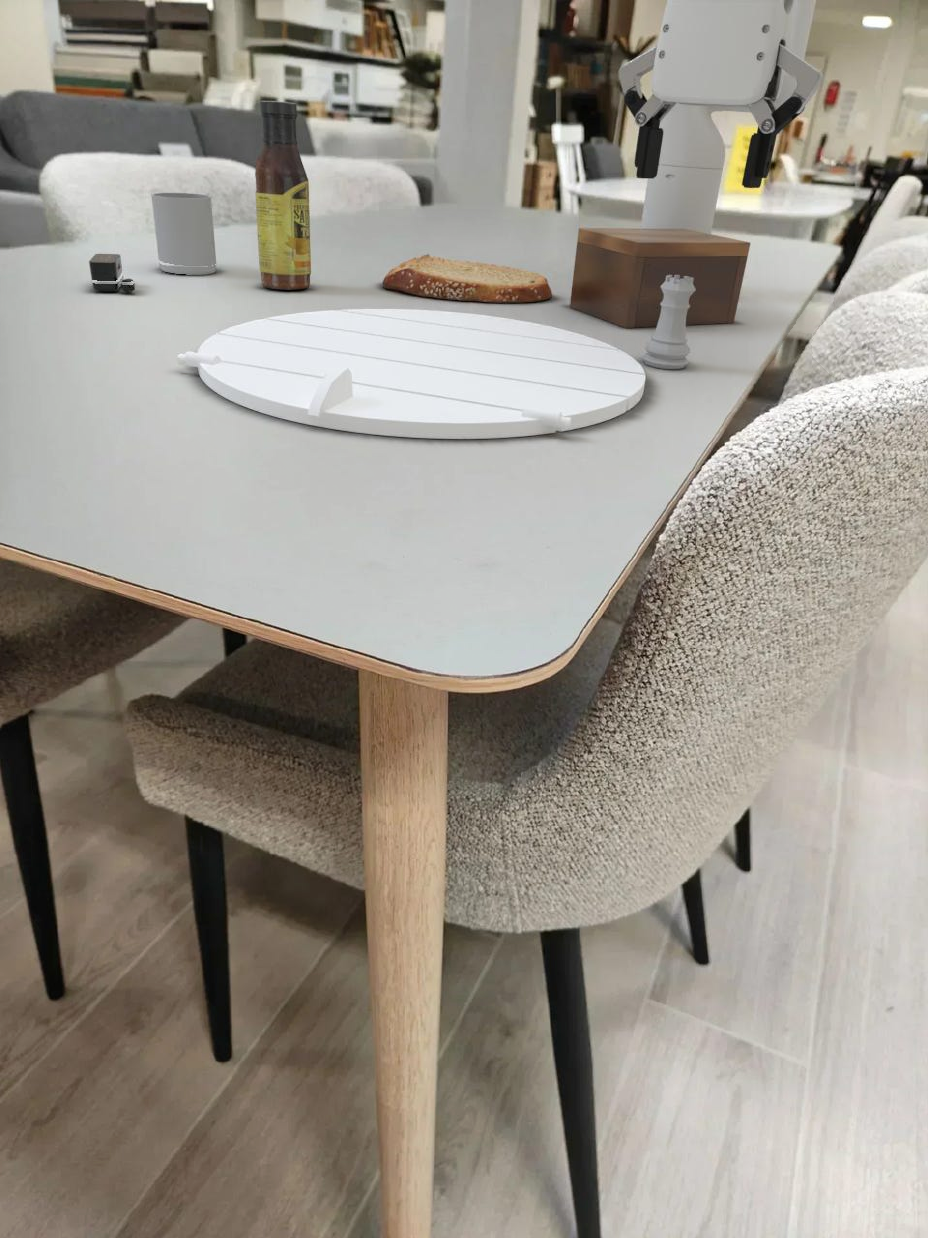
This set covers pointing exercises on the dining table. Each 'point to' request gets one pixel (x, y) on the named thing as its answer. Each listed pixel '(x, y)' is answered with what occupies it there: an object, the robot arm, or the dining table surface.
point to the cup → (184, 232)
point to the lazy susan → (419, 373)
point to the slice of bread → (466, 281)
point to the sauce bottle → (282, 202)
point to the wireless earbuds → (108, 273)
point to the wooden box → (656, 274)
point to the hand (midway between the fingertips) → (697, 182)
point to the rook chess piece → (671, 326)
